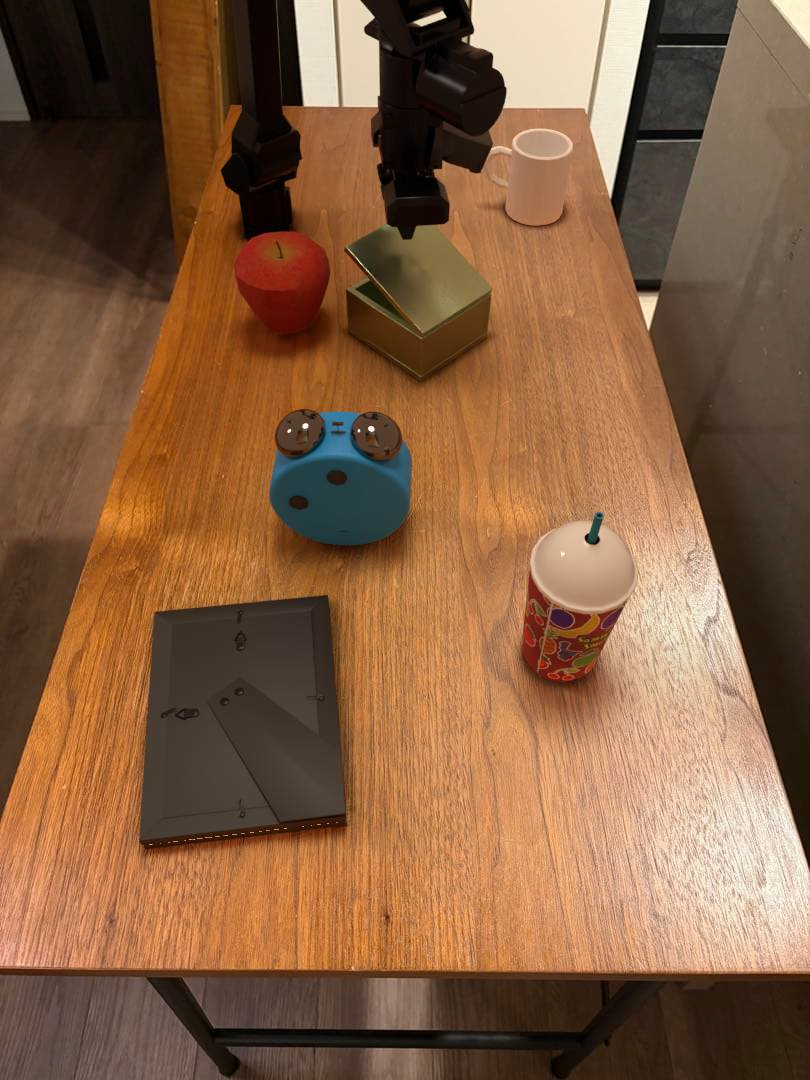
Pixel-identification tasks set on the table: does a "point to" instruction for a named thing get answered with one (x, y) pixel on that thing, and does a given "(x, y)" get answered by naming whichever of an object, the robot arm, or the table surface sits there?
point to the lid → (419, 274)
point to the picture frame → (241, 723)
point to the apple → (283, 279)
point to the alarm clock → (341, 476)
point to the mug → (535, 175)
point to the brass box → (412, 331)
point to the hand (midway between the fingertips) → (407, 237)
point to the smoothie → (575, 597)
